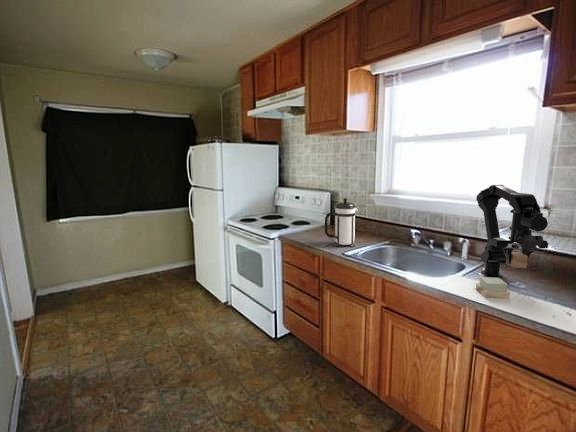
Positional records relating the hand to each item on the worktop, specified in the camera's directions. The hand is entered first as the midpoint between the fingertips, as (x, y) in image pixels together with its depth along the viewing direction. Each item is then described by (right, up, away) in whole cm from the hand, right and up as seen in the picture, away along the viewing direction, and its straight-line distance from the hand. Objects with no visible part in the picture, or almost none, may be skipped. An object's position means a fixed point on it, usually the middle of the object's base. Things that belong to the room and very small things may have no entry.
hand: (516, 263), depth 129 cm
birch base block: (-11, -12, -2) cm, 17 cm away
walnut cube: (0, -1, 0) cm, 1 cm away
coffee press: (-58, +1, +72) cm, 93 cm away
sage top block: (-11, -9, -3) cm, 15 cm away
